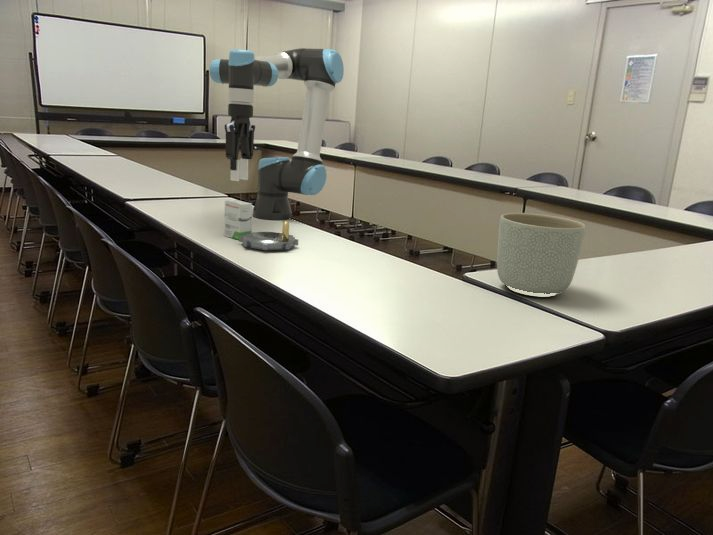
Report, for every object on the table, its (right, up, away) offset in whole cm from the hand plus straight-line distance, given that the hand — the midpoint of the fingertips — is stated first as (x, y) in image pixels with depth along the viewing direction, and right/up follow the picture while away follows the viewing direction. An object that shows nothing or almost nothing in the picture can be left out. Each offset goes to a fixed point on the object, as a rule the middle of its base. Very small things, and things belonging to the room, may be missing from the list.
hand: (239, 179), depth 181 cm
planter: (+83, -34, -31) cm, 95 cm away
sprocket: (+10, -21, -4) cm, 24 cm away
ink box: (-2, -18, +5) cm, 19 cm away
